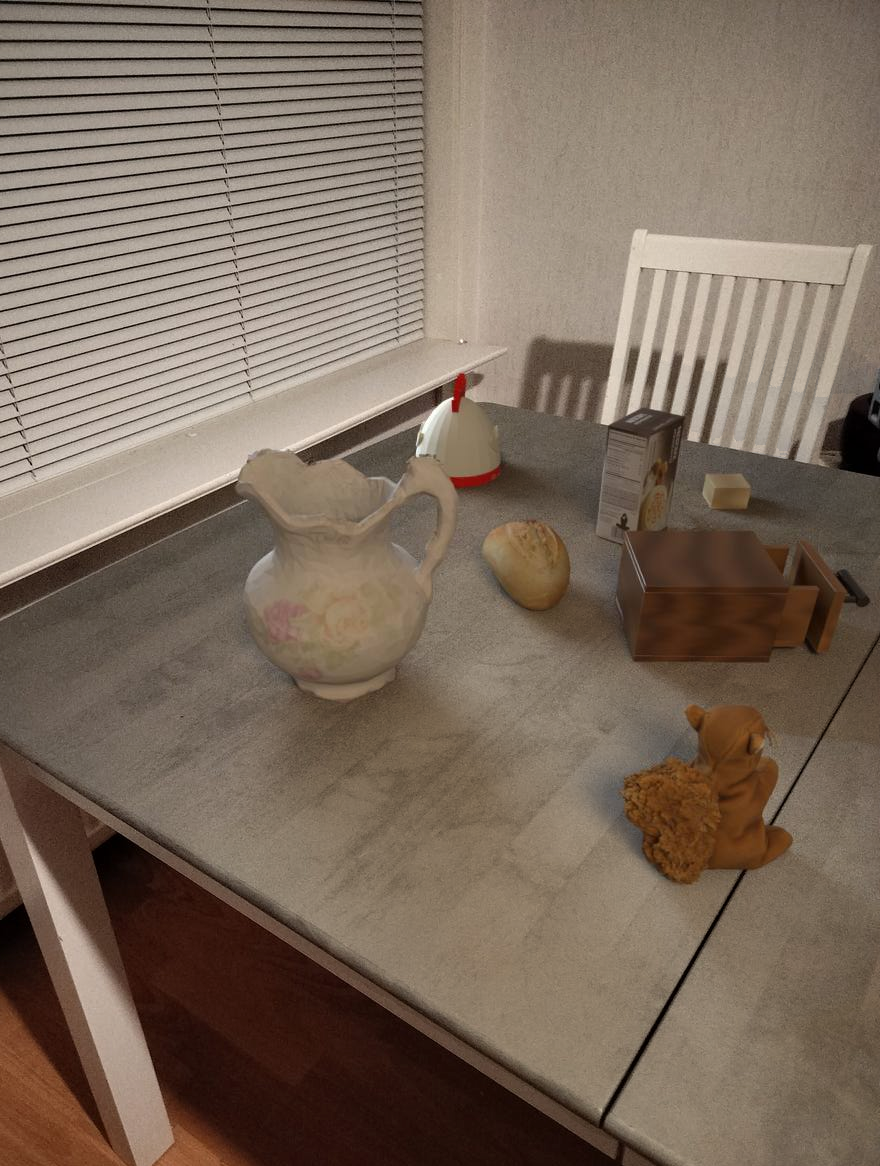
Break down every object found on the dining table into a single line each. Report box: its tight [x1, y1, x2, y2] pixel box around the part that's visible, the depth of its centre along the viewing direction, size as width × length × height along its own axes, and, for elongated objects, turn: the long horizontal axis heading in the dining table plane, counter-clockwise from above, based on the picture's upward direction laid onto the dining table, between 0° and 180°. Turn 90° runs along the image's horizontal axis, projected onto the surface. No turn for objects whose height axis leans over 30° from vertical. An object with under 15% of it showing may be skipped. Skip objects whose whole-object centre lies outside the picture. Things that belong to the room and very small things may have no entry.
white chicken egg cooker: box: [415, 372, 502, 488], centre depth 134 cm, size 14×14×15 cm
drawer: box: [762, 539, 871, 654], centre depth 95 cm, size 18×11×8 cm, turn 87°
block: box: [701, 473, 752, 510], centre depth 122 cm, size 5×5×5 cm
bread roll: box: [481, 518, 571, 611], centre depth 105 cm, size 10×15×8 cm, turn 18°
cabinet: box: [614, 530, 790, 663], centre depth 95 cm, size 15×13×10 cm
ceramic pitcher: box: [234, 447, 459, 704], centre depth 87 cm, size 22×20×25 cm
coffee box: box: [595, 407, 686, 545], centre depth 114 cm, size 9×6×16 cm
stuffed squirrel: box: [618, 703, 794, 886], centre depth 68 cm, size 10×14×13 cm
